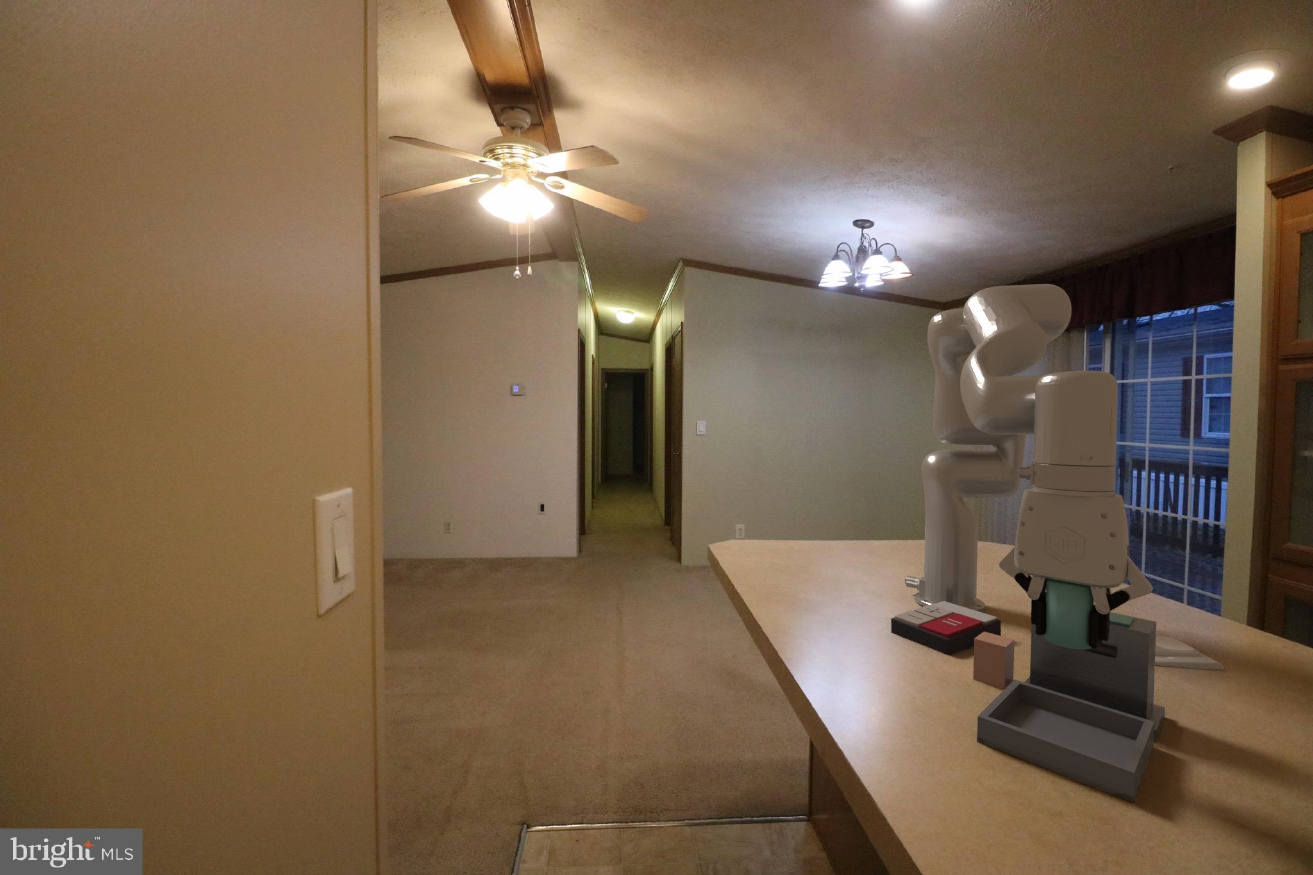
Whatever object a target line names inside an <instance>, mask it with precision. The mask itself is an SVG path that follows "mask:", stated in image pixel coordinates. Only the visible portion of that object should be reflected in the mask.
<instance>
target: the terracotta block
mask: <svg viewBox="0 0 1313 875" xmlns="http://www.w3.org/2000/svg"><path fill="white" fill-rule="evenodd" d="M1014 668H1015V639H1014V638H1009V637H1005V636H1003V635H1001V636H999V635H995V634H991V633H987V632H983V633H981V634H980V635H979V636H977V637H976V638H974V647H973V671H972V673H973V675H972V680H974V681H978V682H981V683H984V684H987V685H990V686H993V687H997V688H999V689H1000V688H1001V689H1002V690H1004V689H1005V688H1006V687H1007V686H1008V685H1009V684H1010V683H1012V682H1013V681H1014V675H1015V674H1014V672H1015V671H1014Z"/></svg>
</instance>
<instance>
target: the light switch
mask: <svg viewBox="0 0 1313 875" xmlns="http://www.w3.org/2000/svg"><path fill="white" fill-rule="evenodd" d="M1155 665H1160V666H1159V667H1168V666H1170V667H1169V668H1182V667H1183V669H1184V668H1185V669H1195V668H1196V670H1197V669H1198V670H1216V669H1217V670H1219V671H1221V670H1224V665H1223V664H1222V663H1221V662H1218V661H1217V660H1215V659H1213V658H1211V657H1209V656H1207V655H1205V654H1204V653H1201V652H1200V651H1199V650H1197V649H1195V648H1194V647H1193V646H1190V645H1188V644H1186V643H1185V642H1182V641H1180V640H1178V639H1177V638H1174V637H1171V636H1169V635H1156V647H1155Z"/></svg>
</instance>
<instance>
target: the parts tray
mask: <svg viewBox="0 0 1313 875" xmlns="http://www.w3.org/2000/svg"><path fill="white" fill-rule="evenodd" d="M1002 690H1003V691H1001V692H1000V693H999V695H998V696H996V697H995V698H994V699H993V700H992V701H991V702H989V704H988V705H987V706H986V707H985V708H984V709H983V710H982V711H981V712H980V713H979V714H978V715H977V724H976V725H977V730H976V733H977V734H976V742H977V743H981V744H983V745H986V746H988V747H991V748H992V749H995V750H998V751H1000V752H1004V753H1006V754H1009V755H1010V756H1013V757H1016V758H1018V759H1021V760H1023V761H1025V762H1028V763H1030V764H1034V765H1036V766H1038V767H1041V768H1044V769H1047V770H1049V771H1052V772H1054V773H1056V774H1059V775H1062V776H1064V777H1065V778H1066V777H1067V778H1070V779H1072V780H1074V781H1077V782H1079V783H1081V784H1085V785H1086V786H1087V785H1088V786H1089V787H1092V788H1095V789H1096V790H1099V791H1103V792H1104V793H1107V794H1110V795H1113V796H1114V797H1118V798H1120V799H1123V800H1125V801H1128V802H1129V803H1133V804H1134V802H1135V799H1136V797H1137V794H1138V791H1139V788H1140V785H1141V783H1142V780H1143V777H1144V774H1145V772H1146V769H1147V766H1148V763H1149V760H1150V757H1151V756H1152V753H1153V751H1154V744H1155V740H1154V722H1153V721H1150V720H1147V719H1144V718H1140V717H1137V716H1134V715H1130V714H1127V713H1124V712H1121V711H1117V710H1114V709H1111V708H1107V707H1104V706H1101V705H1098V704H1094V703H1091V702H1088V701H1084V700H1081V699H1078V698H1075V697H1071V696H1068V695H1065V694H1061V693H1058V692H1055V691H1052V690H1048V689H1045V688H1042V687H1038V686H1035V685H1032V684H1029V683H1025V681H1021V680H1018V679H1013V681H1012V682H1011V683H1010V684H1009V685H1008V686H1007V687H1006V688H1005V689H1002Z"/></svg>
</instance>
